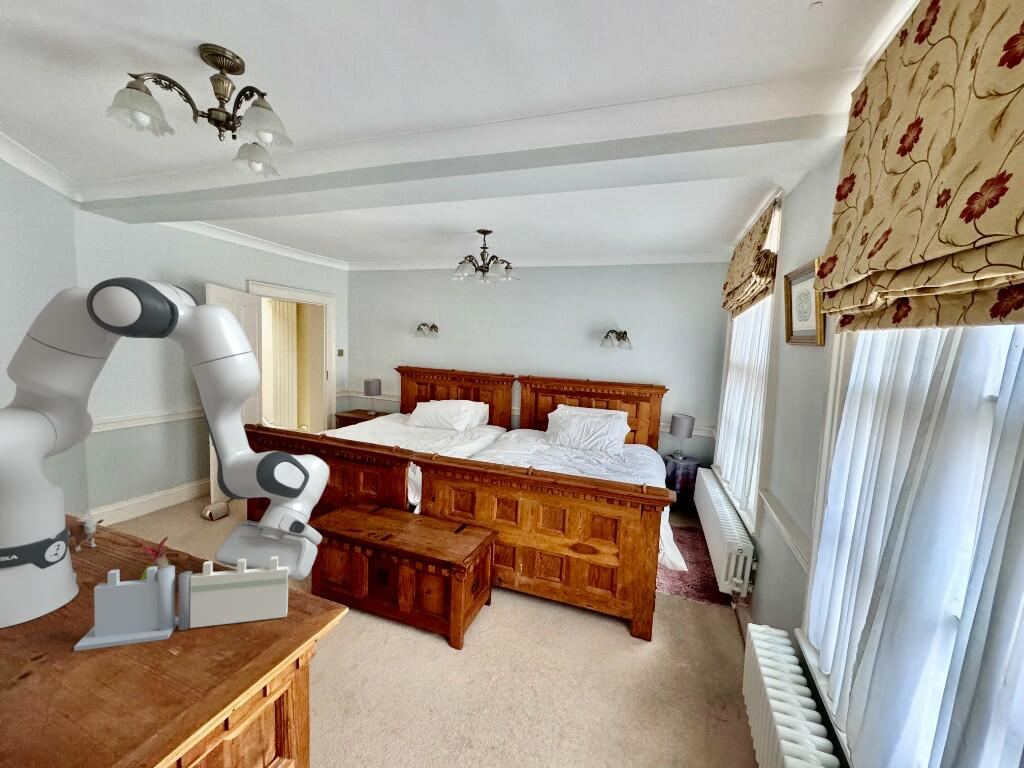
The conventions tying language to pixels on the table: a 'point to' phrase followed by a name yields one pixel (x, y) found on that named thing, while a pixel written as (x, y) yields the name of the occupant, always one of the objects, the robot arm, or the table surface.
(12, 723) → the table surface
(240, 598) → the fence panel
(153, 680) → the table surface
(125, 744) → the table surface
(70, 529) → the bull figurine
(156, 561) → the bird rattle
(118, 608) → the grey toy wall
